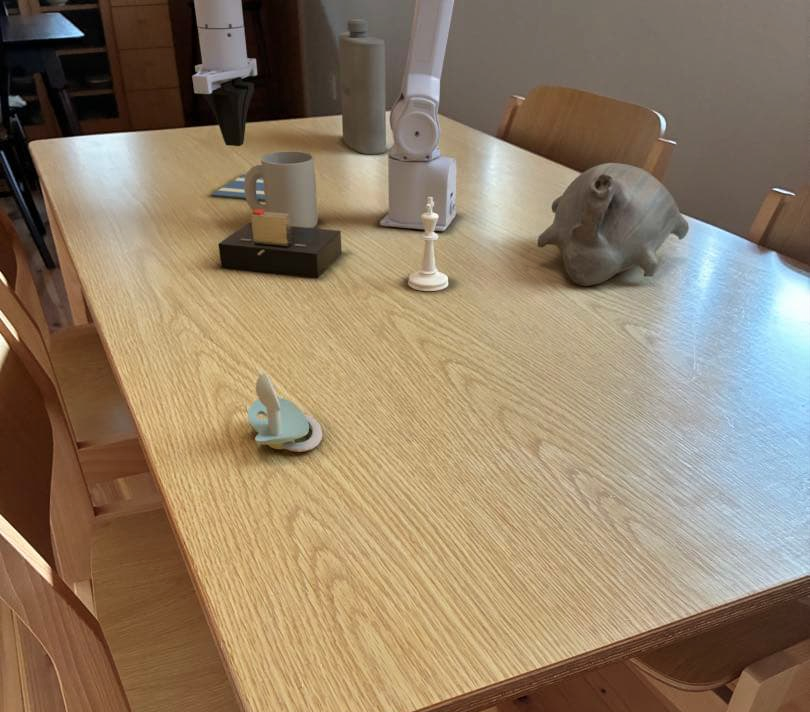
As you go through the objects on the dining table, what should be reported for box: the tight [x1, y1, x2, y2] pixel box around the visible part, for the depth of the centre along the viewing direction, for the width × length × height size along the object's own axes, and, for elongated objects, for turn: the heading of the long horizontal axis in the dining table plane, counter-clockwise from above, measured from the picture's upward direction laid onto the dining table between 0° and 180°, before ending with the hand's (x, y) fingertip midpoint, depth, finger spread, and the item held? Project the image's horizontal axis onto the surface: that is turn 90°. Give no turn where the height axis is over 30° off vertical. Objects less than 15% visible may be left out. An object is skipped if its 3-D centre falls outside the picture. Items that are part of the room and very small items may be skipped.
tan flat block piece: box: [250, 209, 292, 247], centre depth 99 cm, size 4×2×4 cm, turn 75°
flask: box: [338, 18, 387, 155], centre depth 146 cm, size 15×6×20 cm, turn 20°
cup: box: [244, 150, 319, 228], centre depth 112 cm, size 7×10×9 cm
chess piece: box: [407, 197, 449, 292], centre depth 95 cm, size 5×5×10 cm
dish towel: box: [211, 174, 265, 202], centre depth 130 cm, size 9×12×1 cm
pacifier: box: [247, 372, 323, 453], centre depth 68 cm, size 7×6×6 cm
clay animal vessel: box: [537, 162, 690, 287], centre depth 101 cm, size 18×16×14 cm
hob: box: [217, 221, 343, 279], centre depth 102 cm, size 13×11×3 cm
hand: (234, 144), depth 109 cm, fingers closed
